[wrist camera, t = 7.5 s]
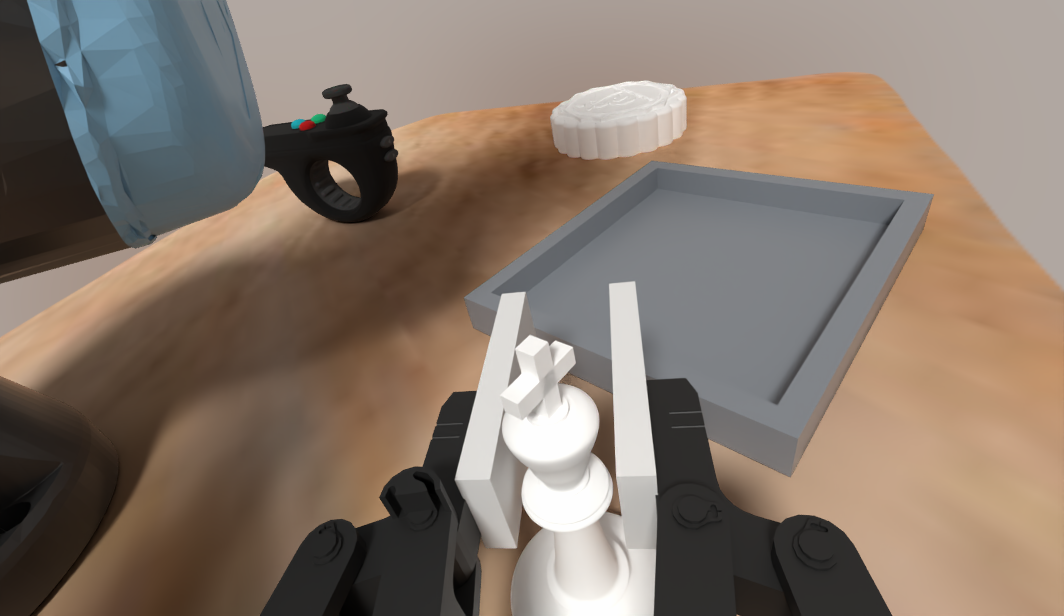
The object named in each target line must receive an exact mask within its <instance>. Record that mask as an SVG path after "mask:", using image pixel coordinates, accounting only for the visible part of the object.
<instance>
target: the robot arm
mask: <svg viewBox="0 0 1064 616" xmlns="http://www.w3.org/2000/svg"><path fill="white" fill-rule="evenodd" d="M264 164H265V142H264V133H263V127H262V122H261V117H260V112H259V108H258V104H257V99H256V95H255V92H254V88H253V84H252V81H251V77H250V74H249V71H248V67H247V64H246V61H245V58H244V54H243V51H242V48H241V45H240V41H239V38H238V35H237V32H236V29H235V25H234V22H233V19H232V16H231V14H230V10H229V8H228V5H227V2H226V0H0V284H1V283H4V282H8V281H12V280H15V279H19V278H22V277H26V276H30V275H33V274H37V273H41V272H44V271H48V270H51V269H55V268H59V267H62V266H66V265H69V264H73V263H77V262H80V261H84V260H87V259H91V258H94V257H98V256H102V255H105V254H109V253H113V252H116V251H120V250H123V249H127V248H131V247H132V248H139V247H142V246H145V245H149V244H152V243H153V242H154V241H155V240H156V238H157V236H158V235H160V234H164V233H166V232H169V231H172V230H175V229H177V228H180V227H183V226H186V225H189V224H191V223H194V222H197V221H200V220H202V219H205V218H208V217H211V216H213V215H216V214H219V213H222V212H224V211H227V210H230V209H232V208H234V207H235V206H237V205H238V204H239V203H240V202H241V201H242V200H244V199H245V198H247V197H248V196H249V195H250V194H251V193H252V191H253V190H254V188H255V187H256V185H257V183H258V182H259V180H260V178H261V177H262V173H263V169H264ZM609 296H610V323H611V350H612V377H613V404H614V431H615V458H616V479H617V486H618V493H619V500H620V507H621V514H622V521H623V528H624V535H625V542H626V549H656V567H655V592H654V616H736V614H738V615H740V616H892V614H891V612H890V611H889V609H888V607H887V605H886V603H885V601H884V600H883V598H882V596H881V594H880V592H879V590H878V588H877V587H876V585H875V583H874V581H873V579H872V577H871V575H870V574H869V572H868V570H867V568H866V566H865V564H864V562H863V561H862V559H861V557H860V555H859V553H858V551H857V550H856V548H855V546H854V544H853V543H852V542H851V541H850V539H849V538H848V537H847V535H846V534H845V533H844V532H843V531H842V530H841V529H839V528H838V527H836V526H835V525H834V524H832V523H831V522H829V521H827V520H824V519H821V518H819V517H816V516H811V515H796V516H793V517H790V518H786V519H785V520H784V521H783V522H782V523H779V522H775V521H772V520H768V519H765V518H762V517H758V516H755V515H752V514H750V513H747V512H744V511H743V510H741V509H739V508H738V507H736V506H735V505H733V504H732V503H731V502H730V501H729V500H728V499H727V498H726V497H725V496H724V494H723V493H722V491H721V490H720V488H719V485H718V482H717V479H716V475H715V470H714V465H713V461H712V456H711V452H710V447H709V442H708V438H707V433H706V429H705V424H704V419H703V415H702V411H701V406H700V401H699V396H698V392H697V391H696V390H695V389H694V387H693V386H692V385H691V384H690V382H689V381H688V380H687V379H686V378H673V379H656V380H646V376H645V367H644V358H643V349H642V340H641V331H640V322H639V313H638V304H637V294H636V285H635V281H633V282H622V283H612V284H609ZM529 335H532V336H534V337H536V333H535V329H534V325H533V321H532V316H531V312H530V308H529V304H528V299H527V295H526V292H516V293H506V294H502V295H501V299H500V303H499V307H498V311H497V315H496V319H495V323H494V327H493V330H492V334H491V338H490V342H489V346H488V350H487V354H486V358H485V362H484V366H483V370H482V374H481V378H480V382H479V386H478V390H477V391H466V392H453V393H452V395H451V396H450V397H449V398H448V400H447V401H446V402H445V403H444V405H443V406H442V407H441V411H440V414H439V417H438V420H437V426H435V429H434V433H433V436H432V438H433V439H432V440H431V442H430V445H429V448H428V451H427V455H426V458H425V461H424V464H423V467H412V468H409V469H405V470H403V471H401V472H400V473H398V474H397V475H395V476H394V477H392V478H391V480H390V481H389V482H388V483H387V484H386V485H385V486H384V488H383V491H382V493H381V495H380V497H379V498H380V500H381V501H382V503H383V504H384V506H385V507H386V509H387V511H388V512H389V514H390V515H391V516H389V517H387V518H384V519H382V520H379V521H376V522H373V523H370V524H367V525H364V526H361V527H358V528H355V527H354V526H353V525H352V523H351V522H349V521H346V520H343V519H337V520H330V521H328V522H326V523H323V524H321V525H319V526H318V527H317V528H315V529H314V530H313V531H312V532H310V533H309V534H308V536H307V537H306V538H305V540H304V541H303V542H302V544H301V545H300V547H299V548H298V550H297V552H296V554H295V555H294V557H293V559H292V561H291V562H290V564H289V566H288V568H287V569H286V571H285V573H284V574H283V576H282V578H281V580H280V581H279V583H278V585H277V587H276V588H275V590H274V592H273V594H272V595H271V597H270V599H269V601H268V602H267V604H266V606H265V607H264V609H263V611H262V613H261V614H260V616H479V607H480V588H481V565H480V560H479V558H478V556H477V554H478V548H479V543H480V538H481V539H482V541H483V543H484V545H485V547H486V548H517V544H518V536H519V528H520V520H521V512H522V504H523V502H522V495H521V492H522V485H523V479H524V476H525V473H526V471H527V466H525V465H524V464H523V463H521V462H520V461H519V460H518V459H517V458H516V457H515V456H514V455H513V453H512V452H511V451H510V450H509V448H508V447H507V445H506V443H505V441H504V438H503V434H502V422H503V418H504V415H505V410H504V407H503V404H502V401H501V397H500V395H501V394H502V393H503V392H504V391H505V390H506V389H507V388H508V387H509V386H510V385H511V384H512V383H513V382H514V381H515V380H516V379H517V378H518V377H519V376H520V375H521V374H522V373H521V369H520V366H519V362H518V358H517V355H516V351H515V348H516V347H517V346H519V345H520V344H521V343H522V342H523V341H524V340H525V339H526V338H527V337H528V336H529ZM118 468H119V467H118V456H117V452H116V449H115V447H114V446H113V444H112V442H111V441H110V440H109V439H108V438H107V437H106V436H105V435H104V434H103V433H101V432H100V431H99V430H98V429H97V428H96V427H95V426H94V425H93V424H92V423H91V422H90V421H89V420H88V419H87V418H86V417H84V416H83V415H82V414H81V413H80V412H78V411H77V410H75V409H74V408H72V407H71V406H69V405H67V404H65V403H63V402H60V401H58V400H55V399H53V398H51V397H48V396H46V395H44V394H41V393H39V392H37V391H34V390H32V389H29V388H27V387H25V386H22V385H20V384H18V383H15V382H13V381H11V380H8V379H6V378H3V377H1V376H0V616H30V615H31V613H32V612H33V611H34V610H35V609H36V608H37V607H38V606H39V605H40V604H41V602H42V601H43V600H44V599H45V598H46V597H47V596H48V594H49V593H50V592H51V591H52V590H53V589H54V587H55V586H56V585H57V584H58V582H59V581H60V580H61V579H62V577H63V576H64V575H65V574H66V573H67V571H68V570H69V569H70V567H71V566H72V565H73V563H74V562H75V561H76V559H77V558H78V556H79V555H80V554H81V552H82V551H83V549H84V548H85V546H86V545H87V543H88V542H89V540H90V539H91V537H92V535H93V534H94V532H95V530H96V529H97V527H98V525H99V523H100V522H101V520H102V518H103V516H104V514H105V512H106V510H107V508H108V505H109V503H110V500H111V498H112V495H113V492H114V489H115V486H116V482H117V477H118Z"/></svg>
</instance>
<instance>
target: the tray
mask: <svg viewBox="0 0 1064 616" xmlns="http://www.w3.org/2000/svg"><path fill="white" fill-rule="evenodd" d="M933 196H934V194H926V193H918V192H910V191H901V190H893V189H885V188H876V187H868V186H859V185H851V184H843V183H834V182H826V181H817V180H809V179H801V178H792V177H784V176H776V175H767V174H759V173H750V172H742V171H734V170H725V169H717V168H708V167H700V166H692V165H683V164H675V163H666V162H658V161H651V162H649V163H648V164H647V165H645V166H644V167H643V168H641V169H640V170H638V171H637V172H636V173H634V174H633V175H632V176H630V177H629V178H627V179H626V180H625V181H623V182H622V183H621V184H619V185H618V186H616V187H615V188H614V189H612V190H611V191H610V192H608V193H607V194H605V195H604V196H603V197H601V198H600V199H599V200H597V201H596V202H594V203H593V204H592V205H590V206H589V207H588V208H586V209H585V210H583V211H582V212H581V213H579V214H578V215H577V216H575V217H574V218H572V219H571V220H570V221H568V222H567V223H566V224H564V225H563V226H561V227H560V228H559V229H557V230H556V231H555V232H553V233H552V234H550V235H549V236H548V237H546V238H545V239H544V240H542V241H541V242H539V243H538V244H537V245H535V246H534V247H533V248H531V249H530V250H528V251H527V252H526V253H524V254H523V255H522V256H520V257H519V258H517V259H516V260H515V261H513V262H512V263H511V264H509V265H508V266H506V267H505V268H504V269H502V270H501V271H500V272H498V273H497V274H495V275H494V276H493V277H491V278H490V279H489V280H487V281H486V282H484V283H483V284H482V285H480V286H479V287H478V288H476V289H475V290H473V291H472V292H471V293H469V294H468V295H467V296H465V297H464V301H465V304H466V307H467V310H468V313H469V316H470V319H471V322H472V325H473V328H475V329H477V330H479V331H481V332H483V333H485V334H487V335H489V336H491V334H492V330H493V327H494V323H495V319H496V315H497V311H498V307H499V303H500V299H501V295H502V294H506V293H516V292H526V295H527V299H528V304H529V308H530V312H531V316H532V321H533V325H534V329H535V333H536V337H537V338H539V339H542V340H545V341H547V342H548V343H549V346H550V345H551V344H552V343H553V342H554V341H558V342H561V343H563V344H566V345H569V346H571V347H573V350H574V356H575V361H576V364H575V365H574V366H573V367H572V368H571V369H570V370H569V371H568V373H570V374H572V375H574V376H577V377H579V378H581V379H583V380H585V381H587V382H589V383H591V384H593V385H596V386H598V387H600V388H602V389H604V390H606V391H608V392H610V393H613V377H612V350H611V323H610V296H609V284H612V283H622V282H633V281H635V285H636V294H637V304H638V313H639V322H640V331H641V340H642V349H643V358H644V367H645V376H646V380H656V379H673V378H686V379H687V380H688V381H689V382H690V384H691V385H692V386H693V387H694V389H695V390H696V391H697V392H698V396H699V401H700V406H701V411H702V415H703V419H704V424H705V429H706V433H707V438H708V439H710V440H712V441H715V442H717V443H719V444H721V445H723V446H725V447H727V448H729V449H732V450H734V451H736V452H738V453H740V454H742V455H744V456H746V457H749V458H751V459H753V460H755V461H757V462H759V463H761V464H763V465H766V466H768V467H770V468H772V469H774V470H776V471H778V472H780V473H783V474H785V475H787V476H789V477H791V475H792V474H793V472H794V470H795V468H796V466H797V464H798V462H799V461H800V459H801V457H802V455H803V453H804V451H805V449H806V447H807V446H808V444H809V442H810V440H811V438H812V436H813V434H814V432H815V431H816V429H817V427H818V425H819V423H820V421H821V419H822V418H823V416H824V414H825V412H826V410H827V408H828V406H829V404H830V403H831V401H832V399H833V397H834V395H835V393H836V391H837V390H838V388H839V386H840V384H841V382H842V380H843V378H844V376H845V375H846V373H847V371H848V369H849V367H850V365H851V363H852V362H853V360H854V358H855V356H856V354H857V352H858V350H859V348H860V347H861V345H862V343H863V341H864V339H865V337H866V335H867V333H868V332H869V330H870V328H871V326H872V324H873V322H874V320H875V319H876V317H877V315H878V313H879V311H880V309H881V307H882V305H883V304H884V302H885V300H886V298H887V296H888V294H889V292H890V291H891V289H892V287H893V285H894V283H895V281H896V279H897V277H898V276H899V274H900V272H901V270H902V268H903V266H904V264H905V262H906V261H907V259H908V257H909V255H910V253H911V251H912V249H913V248H914V246H915V244H916V242H917V240H918V238H919V236H920V234H921V233H922V231H923V228H924V225H925V222H926V218H927V215H928V212H929V209H930V205H931V202H932V199H933Z"/></svg>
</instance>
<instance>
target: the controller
mask: <svg viewBox="0 0 1064 616" xmlns="http://www.w3.org/2000/svg"><path fill="white" fill-rule="evenodd" d="M351 91H352V88H351V86H350V85H348V84H343V85H338V86H335V87H331V88H328V89H326V90H324V91H323V92H322V95H323V97H324V98H325V99H332V101H333V105H332V107H331V108H330V111H329V112H328V114H327V116H325V115H323V114H317V115H315V116H313V117H312V118H311V120H303V119H298V120H295V121H293V122H289V123H281V124H274V125H269V126H266V127H263V133H264V142H265V164H264V166H265V167H268V168H271V169H274V170H276V171H278V172H279V173H280V174H281V175H282V177H283V178H284V180H285V181H286V183H287V185H288V186H289V188H290V189H291V190H292V192H293V193H294V194H295V195H296V196H297V197H298V198H299V199H300V200H301V201H302V202H303V203H304V204H305V205H306V206H308V207H309V208H311V209H312V210H314V211H315V212H317V213H318V214H320V215H322V216H324V217H327V218H329V219H332V220H336V221H341V222H358V221H362V220H365V219H367V218H369V217H371V216H373V215H374V214H376V213H377V212H378V211H380V210H381V209H382V208H383V207H384V206H385V205H386V204H387V203H388V201H389V200H390V199H391V197H392V195H393V193H394V191H395V188H396V185H397V180H398V167H397V160H396V157H397V155H398V151H397V150H396V149H394V143H393V142H394V137H393V136H392V132H391V130H390V128H389V126H388V125H387V122H386V119H385V118H386V116H387V111H385V110H383V109H380V110H368V109H366V108H365V107H364V106H362V105H360V104H357V103H355V102H354V101H351V100H349V99H348V97H347V94H349V93H350V92H351ZM328 160H330V161H333V162H336V163H338V164H340V165H341V166H343V167H344V168H345V169H347V170H348V171H349V172H350V173H351V174H352V176H353V177H354V179H355V180H356V182H357V184H358V186H359V189H360V193H361V198H359V197H355V196H352V195H350V194H348V193H347V192H345V191H343V190H342V189H341V188H340V187H339V186H338V185H337V183H336V182H335V181H334V179H333V177H332V176H331V174H330V171H329V167H328Z"/></svg>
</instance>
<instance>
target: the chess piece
mask: <svg viewBox="0 0 1064 616" xmlns="http://www.w3.org/2000/svg"><path fill="white" fill-rule="evenodd" d="M515 351H516V355H517V358H518V362H519V366H520V369H521V373H522V374H521V375H520V376H519V377H518V378H517V379H516V380H515V381H514V382H513V383H512V384H511V385H510V386H509V387H508V388H507V389H506V390H505V391H504V392H503V393H502V394H501V395H500V397H501V401H502V404H503V407H504V410H505V415H504V418H503V422H502V434H503V438H504V441H505V443H506V445H507V447H508V448H509V450H510V451H511V452H512V453H513V455H514V456H515V457H516V458H517V459H518V460H519V461H520V462H521V463H523V464H524V465H525V466H527V467H528V469H527V471H526V473H525V476H524V479H523V485H522V492H521V495H522V502H523V506H524V508H525V511H526V512H527V514H528V515H529V517H530V518H531V519H532V520H533V521H534V522H535V523H536V524H538V525H539V526H541V527H543V528H542V529H541V530H540V531H539V532H538V533H537V534H536V535H535V536H534V537H533V538H532V539H531V540H530V542H529V543H528V544H527V546H526V547H525V549H524V550H523V552H522V554H521V556H520V558H519V560H518V562H517V564H516V567H515V570H514V574H513V578H512V584H511V611H512V616H654V592H655V567H656V549H626V542H625V535H624V528H623V521H622V516H620V515H617V514H613V513H609V512H606V510H607V509H608V507H609V505H610V502H611V499H612V495H613V483H612V478H611V475H610V473H609V471H608V469H607V468H606V466H605V465H604V464H603V462H602V461H601V460H600V459H599V458H598V457H597V456H596V455H594V454H593V453H591V450H592V448H593V446H594V444H595V441H596V437H597V434H598V429H599V413H598V409H597V406H596V404H595V403H594V401H593V400H592V398H591V397H590V396H589V395H588V394H587V393H585V392H584V391H582V390H581V389H579V388H577V387H574V386H571V385H567V384H561V383H558V382H559V381H560V380H561V379H562V378H563V377H564V376H565V374H566V373H567V372H568V371H569V370H570V369H571V368H572V367H573V366H574V365H575V364H576V361H575V356H574V350H573V347H571V346H569V345H566V344H563V343H561V342H558V341H554V342H553V343H552V344H551V345H550V346H549V343H548V342H547V341H545V340H542V339H539V338H537V337H534V336H532V335H529V336H528V337H527V338H526V339H525V340H524V341H523V342H522V343H521V344H520V345H519V346H517V347H516V348H515Z"/></svg>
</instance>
